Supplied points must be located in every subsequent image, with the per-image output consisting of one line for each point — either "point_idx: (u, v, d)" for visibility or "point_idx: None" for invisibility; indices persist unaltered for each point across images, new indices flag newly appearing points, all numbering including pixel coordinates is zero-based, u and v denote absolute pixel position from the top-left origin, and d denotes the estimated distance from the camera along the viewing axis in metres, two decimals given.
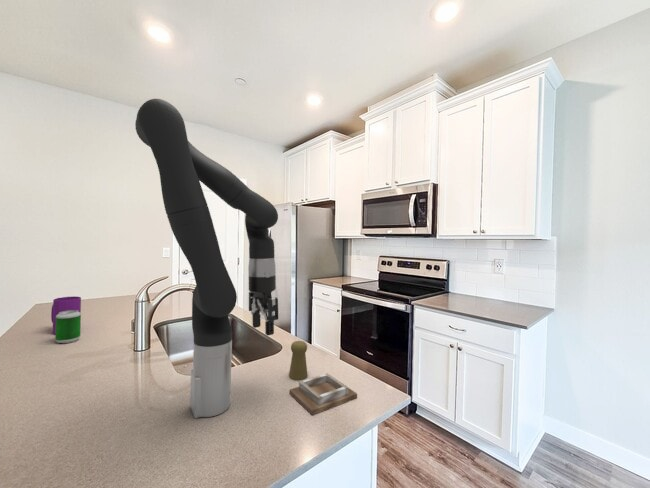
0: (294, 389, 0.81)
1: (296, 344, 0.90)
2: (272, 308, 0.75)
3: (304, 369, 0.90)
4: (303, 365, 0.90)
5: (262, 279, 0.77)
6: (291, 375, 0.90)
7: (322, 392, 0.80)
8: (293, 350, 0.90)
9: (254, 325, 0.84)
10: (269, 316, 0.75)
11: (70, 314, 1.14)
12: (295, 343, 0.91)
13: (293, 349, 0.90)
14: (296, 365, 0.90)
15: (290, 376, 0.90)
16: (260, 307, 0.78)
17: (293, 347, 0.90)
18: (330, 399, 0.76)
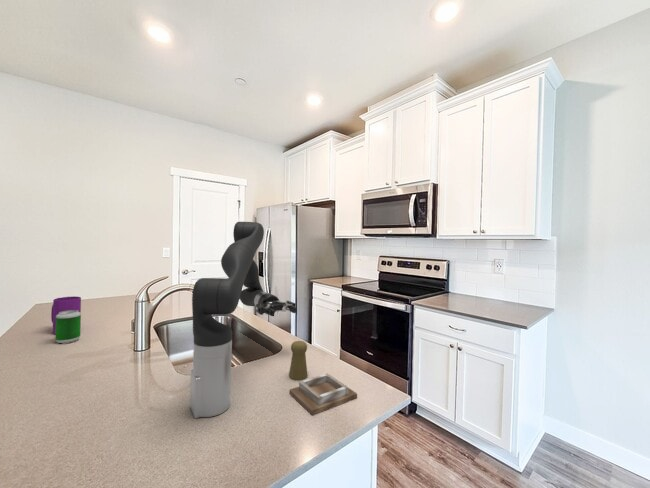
0: (294, 389, 0.81)
1: (296, 344, 0.90)
2: None
3: (304, 369, 0.90)
4: (303, 365, 0.90)
5: None
6: (291, 375, 0.90)
7: (322, 392, 0.80)
8: (293, 350, 0.90)
9: None
10: (293, 303, 1.09)
11: (70, 314, 1.14)
12: (295, 343, 0.91)
13: (293, 349, 0.90)
14: (296, 365, 0.90)
15: (290, 376, 0.90)
16: (281, 302, 1.08)
17: (293, 347, 0.90)
18: (330, 399, 0.76)
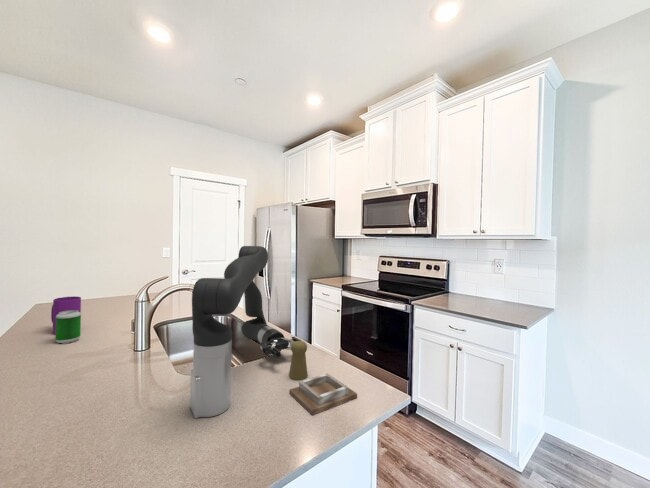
0: (294, 389, 0.81)
1: (296, 344, 0.90)
2: None
3: (304, 369, 0.90)
4: (303, 365, 0.90)
5: None
6: (291, 375, 0.90)
7: (322, 392, 0.80)
8: (293, 350, 0.90)
9: None
10: (299, 340, 1.04)
11: (70, 314, 1.14)
12: (295, 343, 0.91)
13: (293, 349, 0.90)
14: (296, 365, 0.90)
15: (290, 376, 0.90)
16: (286, 339, 1.03)
17: (293, 347, 0.90)
18: (330, 399, 0.76)
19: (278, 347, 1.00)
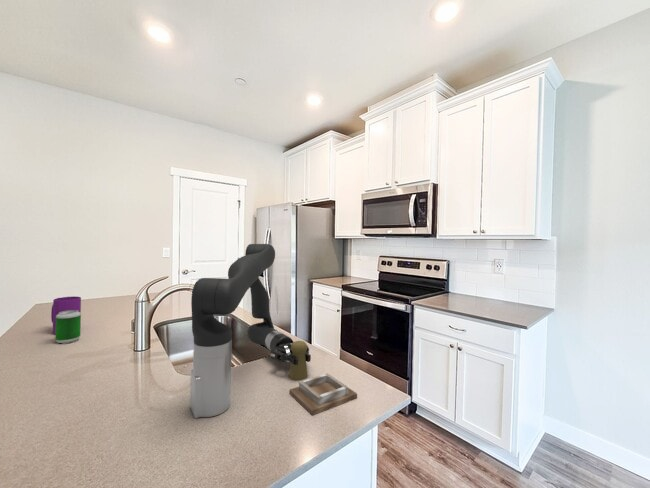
0: (294, 389, 0.81)
1: (296, 344, 0.90)
2: None
3: (304, 369, 0.90)
4: (303, 365, 0.90)
5: None
6: (291, 375, 0.90)
7: (322, 392, 0.80)
8: (293, 350, 0.90)
9: None
10: (307, 348, 0.97)
11: (70, 314, 1.14)
12: (295, 343, 0.91)
13: (293, 349, 0.90)
14: (296, 365, 0.90)
15: (290, 376, 0.90)
16: None
17: (293, 347, 0.90)
18: (330, 399, 0.76)
19: (290, 353, 0.95)
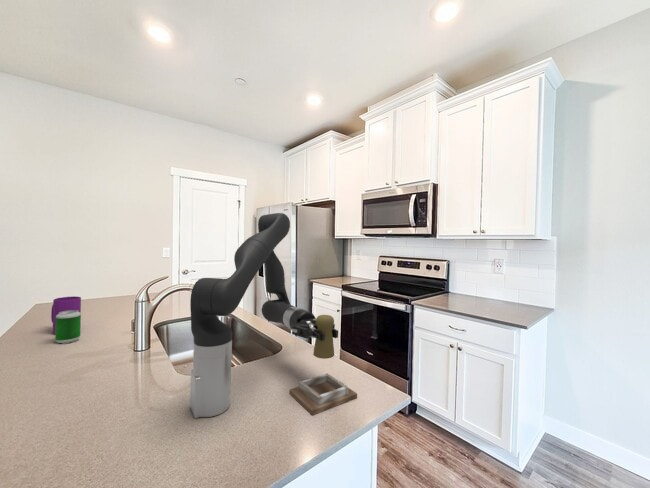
0: (294, 389, 0.81)
1: (322, 317, 0.79)
2: None
3: (331, 346, 0.79)
4: (330, 341, 0.79)
5: None
6: (316, 353, 0.79)
7: (322, 392, 0.80)
8: (319, 324, 0.79)
9: None
10: None
11: (70, 314, 1.14)
12: (321, 316, 0.80)
13: (319, 323, 0.79)
14: (322, 341, 0.78)
15: (315, 354, 0.79)
16: None
17: (319, 321, 0.79)
18: (330, 399, 0.76)
19: None
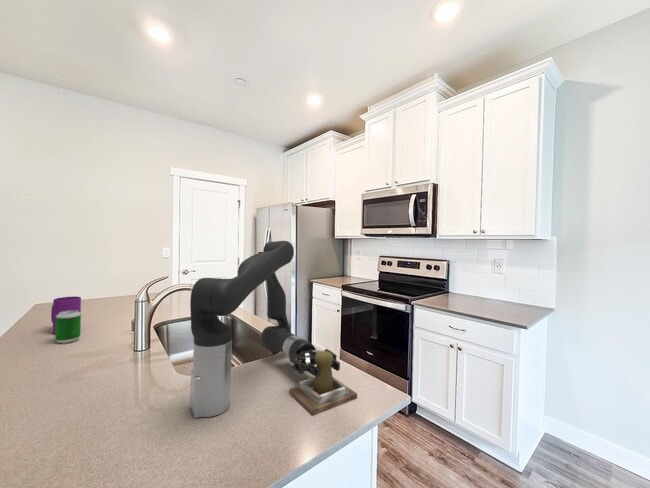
0: (294, 389, 0.81)
1: (321, 355, 0.79)
2: None
3: (330, 384, 0.79)
4: (329, 379, 0.79)
5: None
6: (316, 391, 0.79)
7: None
8: (318, 362, 0.79)
9: None
10: (333, 354, 0.87)
11: (70, 314, 1.14)
12: (320, 354, 0.80)
13: (318, 361, 0.79)
14: (321, 379, 0.78)
15: None
16: None
17: (318, 359, 0.79)
18: (330, 399, 0.76)
19: (312, 362, 0.83)
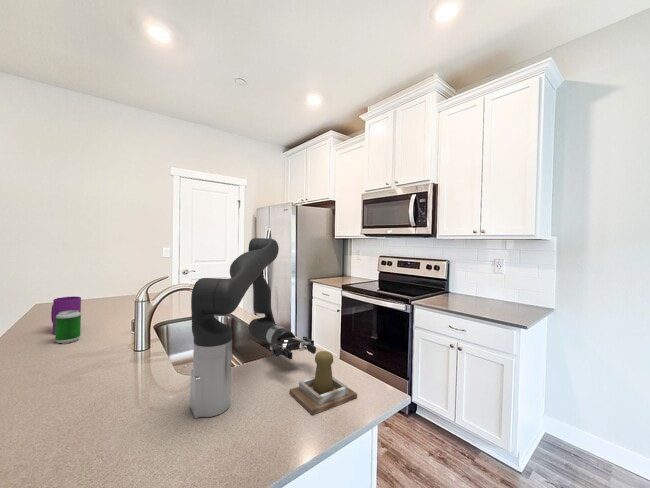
0: (294, 389, 0.81)
1: (321, 355, 0.79)
2: None
3: (330, 384, 0.79)
4: (329, 379, 0.79)
5: None
6: (316, 391, 0.79)
7: None
8: (318, 362, 0.79)
9: None
10: (311, 340, 0.98)
11: (70, 314, 1.14)
12: (320, 354, 0.80)
13: (318, 361, 0.79)
14: (321, 379, 0.78)
15: None
16: (298, 339, 0.97)
17: (318, 359, 0.79)
18: (330, 399, 0.76)
19: (289, 348, 0.94)
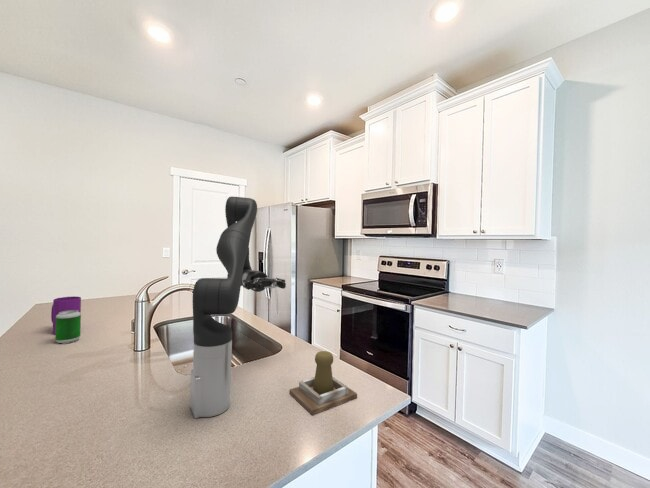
0: (294, 389, 0.81)
1: (321, 355, 0.79)
2: None
3: (330, 384, 0.79)
4: (329, 379, 0.79)
5: None
6: (316, 391, 0.79)
7: None
8: (318, 362, 0.79)
9: None
10: (282, 279, 1.04)
11: (70, 314, 1.14)
12: (320, 354, 0.80)
13: (318, 361, 0.79)
14: (321, 379, 0.78)
15: None
16: (270, 278, 1.03)
17: (318, 359, 0.79)
18: (330, 399, 0.76)
19: (261, 284, 1.00)
